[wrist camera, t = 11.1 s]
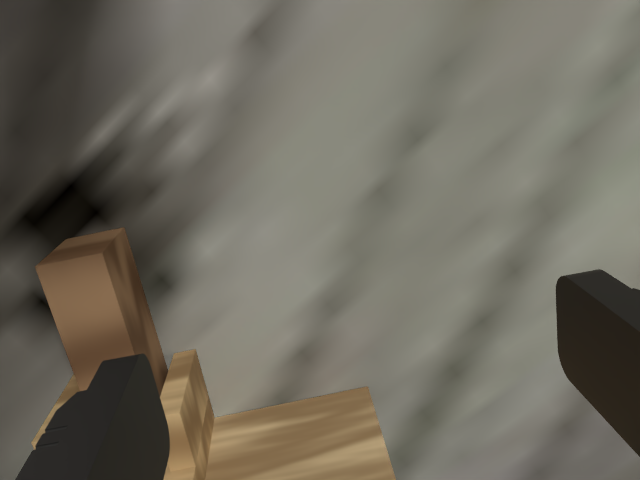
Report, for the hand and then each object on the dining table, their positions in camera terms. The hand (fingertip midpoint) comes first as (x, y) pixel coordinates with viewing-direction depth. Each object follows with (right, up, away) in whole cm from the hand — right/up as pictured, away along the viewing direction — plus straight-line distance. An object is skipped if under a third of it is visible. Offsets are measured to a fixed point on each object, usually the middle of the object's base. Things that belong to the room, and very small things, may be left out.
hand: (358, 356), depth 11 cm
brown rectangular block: (-15, -3, +30) cm, 34 cm away
